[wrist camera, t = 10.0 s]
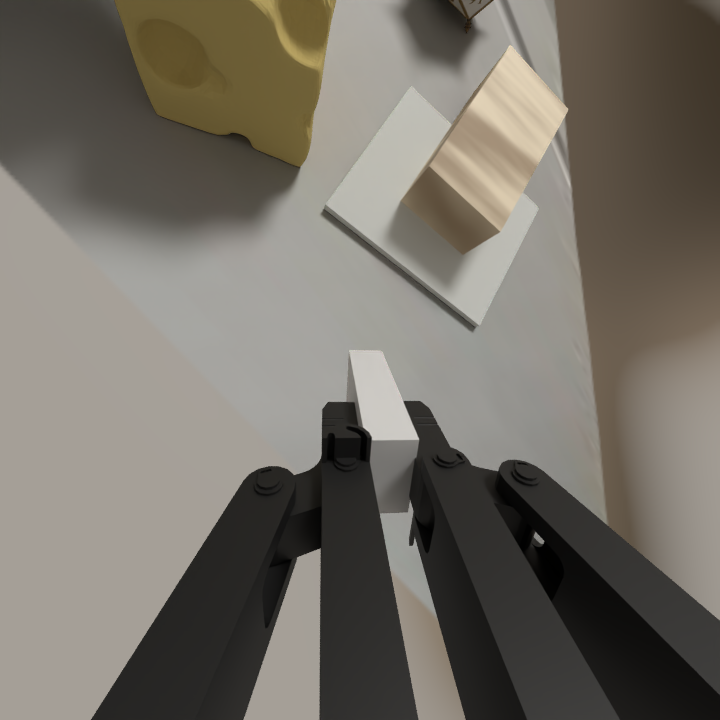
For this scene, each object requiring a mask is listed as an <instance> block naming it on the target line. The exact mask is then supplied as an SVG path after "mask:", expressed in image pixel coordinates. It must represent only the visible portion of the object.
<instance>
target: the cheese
mask: <svg viewBox="0 0 720 720" xmlns="http://www.w3.org/2000/svg"><path fill="white" fill-rule="evenodd" d="M114 1H115V4H116V7H117V10H118V13H119V15H120V18H121V21H122V23H123V26H124V30H125V33H126V36H127V40H128V43H129V46H130V49H131V52H132V55H133V58H134V61H135V64H136V67H137V70H138V73H139V75H140V77H141V80H142V83H143V85H144V88H145V90H146V93H147V95H148V97H149V99H150V101H151V104H152V106H153V108H154V110H155V112H156V114H158V115H159V116H161V117H164V118H167V119H170V120H173V121H176V122H179V123H182V124H185V125H188V126H191V127H194V128H197V129H200V130H203V131H206V132H209V133H213V134H216V135H228V134H229V133H238V134H241V135H243V136H245V137H247V138H248V139H249V140H250V142H251V145H252V147H253V148H255V149H256V150H259V151H261V152H263V153H266V154H268V155H271V156H273V157H276V158H279V159H281V160H283V161H285V162H287V163H290V164H292V165H295V166H298V167H301V165H302V164H303V163H304V161H305V159H306V157H307V155H308V152H309V148H310V144H311V136H312V126H313V116H314V111H315V108H316V105H317V102H318V99H319V94H320V89H321V82H322V75H323V67H324V60H325V54H326V48H327V42H328V36H329V31H330V25H331V20H332V16H333V12H334V8H335V3H336V0H114Z"/></svg>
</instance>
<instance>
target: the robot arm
mask: <svg viewBox="0 0 720 720" xmlns="http://www.w3.org/2000/svg"><path fill="white" fill-rule="evenodd" d="M410 501H411V504H412V507H413V511H414V512H413V518H412V524H411V530H410V536H409V546H413V543H414V537H415V539H416V542H417V546H418V549H419V553H420V557H421V560H422V564H423V567H424V571H425V575H426V578H427V582H428V585H429V589H430V592H431V596H432V600H433V603H434V607H435V610H436V614H437V618H438V621H439V625H440V628H441V632H442V635H443V639H444V643H445V646H446V650H447V654H448V657H449V661H450V664H451V668H452V671H453V675H454V679H455V682H456V686H457V689H458V693H459V697H460V700H461V704H462V708H463V711H464V715H465V718H466V720H720V620H718V619H717V618H716V617H715V616H714V615H712V614H711V613H710V612H709V611H707V610H706V609H705V608H704V607H703V606H702V605H701V604H699V603H698V602H697V601H696V600H695V599H694V598H692V597H691V596H690V595H689V594H688V593H686V592H685V591H684V590H683V589H682V588H681V587H679V586H678V585H677V584H676V583H675V582H673V581H672V580H671V579H670V578H669V577H668V576H666V575H665V574H664V573H663V572H662V571H660V570H659V569H658V568H657V567H656V566H655V565H653V564H652V563H651V562H650V561H649V560H648V559H646V558H645V557H644V556H643V555H642V554H640V553H639V552H638V551H637V550H636V549H635V548H633V547H632V546H631V545H630V544H629V543H627V542H626V541H625V540H624V539H623V538H622V537H620V536H619V535H618V534H617V533H616V532H614V531H613V530H612V529H611V528H610V527H609V526H607V525H606V524H605V523H604V522H603V521H601V520H600V519H599V518H598V517H597V516H596V515H594V514H593V513H592V512H591V511H590V510H588V509H587V508H586V507H585V506H584V505H583V504H581V503H580V502H579V501H578V500H577V499H576V498H574V497H573V496H572V495H571V494H570V493H568V492H567V491H566V490H565V489H564V488H563V487H561V486H560V485H559V484H558V483H557V482H555V481H554V480H553V479H552V478H551V477H550V476H548V475H547V474H546V473H545V472H544V471H542V470H541V469H539V468H538V467H536V466H535V465H532V464H530V463H527V462H525V461H520V460H507V461H505V462H503V463H502V464H501V466H500V467H499V471H493V470H488V469H484V468H479V467H476V466H472V465H471V463H470V462H469V460H468V459H467V458H466V456H465V455H464V454H463V453H461V452H459V451H458V450H456V449H454V448H451V447H450V446H449V444H448V442H447V440H446V438H445V436H444V435H443V433H442V431H441V429H440V427H439V425H437V422H436V420H435V418H434V416H433V414H432V412H431V410H430V409H429V408H428V407H427V406H426V405H425V404H423V403H422V402H421V401H403V400H402V398H401V395H400V393H399V391H398V388H397V386H396V383H395V381H394V379H393V376H392V374H391V372H390V369H389V367H388V364H387V362H386V360H385V357H384V355H383V353H382V351H370V350H349V361H348V382H347V402H328V403H327V404H326V405H325V407H324V408H323V409H322V456H321V459H320V461H319V463H318V464H317V465H316V466H315V467H314V468H312V469H310V470H309V471H306V472H303V473H300V474H297V475H293V474H292V473H291V472H290V471H289V470H288V469H285V468H282V467H278V466H268V467H265V468H261V469H258V470H256V471H254V472H252V473H251V474H249V475H248V476H247V478H246V479H245V480H244V481H243V482H242V484H241V485H240V487H239V489H238V490H237V492H236V493H235V495H234V496H233V498H232V500H231V501H230V503H229V504H228V506H227V507H226V509H225V511H224V512H223V514H222V515H221V517H220V519H219V520H218V522H217V523H216V525H215V526H214V528H213V529H212V531H211V533H210V534H209V536H208V537H207V539H206V540H205V542H204V543H203V545H202V547H201V548H200V550H199V551H198V553H197V555H196V556H195V558H194V559H193V561H192V562H191V564H190V566H189V567H188V569H187V570H186V572H185V573H184V575H183V576H182V578H181V580H180V581H179V583H178V584H177V586H176V588H175V589H174V591H173V592H172V594H171V595H170V597H169V598H168V600H167V601H166V603H165V605H164V606H163V608H162V609H161V611H160V613H159V614H158V616H157V617H156V619H155V620H154V622H153V623H152V625H151V627H150V628H149V630H148V631H147V633H146V635H145V636H144V638H143V639H142V641H141V642H140V644H139V645H138V647H137V649H136V650H135V652H134V653H133V655H132V657H131V658H130V659H129V661H128V663H127V664H126V666H125V667H124V669H123V670H122V672H121V674H120V675H119V677H118V678H117V680H116V682H115V683H114V685H113V686H112V688H111V689H110V691H109V692H108V694H107V696H106V697H105V699H104V700H103V702H102V703H101V705H100V707H99V708H98V710H97V711H96V713H95V714H94V716H93V717H92V719H91V720H243V719H244V716H245V713H246V710H247V707H248V704H249V701H250V698H251V695H252V692H253V689H254V686H255V683H256V680H257V677H258V674H259V671H260V668H261V665H262V662H263V659H264V656H265V653H266V650H267V647H268V644H269V641H270V638H271V635H272V632H273V629H274V626H275V623H276V620H277V617H278V614H279V611H280V608H281V605H282V602H283V599H284V596H285V593H286V590H287V587H288V584H289V581H290V578H291V575H292V572H293V569H294V566H295V563H296V560H297V557H299V556H301V555H304V554H307V553H309V552H312V551H314V550H317V549H320V548H321V586H320V588H321V589H320V599H321V600H320V720H418V715H417V710H416V705H415V699H414V694H413V689H412V684H411V678H410V673H409V668H408V662H407V657H406V651H405V646H404V641H403V636H402V631H401V625H400V620H399V614H398V609H397V604H396V598H395V594H394V588H393V582H392V577H391V572H390V566H389V561H388V556H387V550H386V545H385V540H384V535H383V529H382V524H381V519H380V513H399V512H408V508H409V502H410ZM535 531H536V532H537V534H538V535H539V536H540V537H541V538H542V539H543V540H544V541H545V542H544V544H540V543H539V542H538V541H537V540H536V539H535V538H534V534H535Z"/></svg>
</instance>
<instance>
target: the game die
mask: <svg viewBox="0 0 720 720" xmlns="http://www.w3.org/2000/svg"><path fill="white" fill-rule="evenodd" d="M448 1H449V2H450V3H451V4H452V5H453V6H454V7H455V8H456V9H457V10H458V11H459V12H460V13H461V14H462V15H463V16H464V17H465V18H466V19H467V22H466V24H465V25H466V26H465V29H466V33H467V32H468V30H469V29H470V28H471V27H470V25H471V19H472V18H473V17H474V16H475V15H477V14H478V13H479V12H480V11H481V10H483V9H484V8H485V7H486V6H487V5H489V4H490V3H491V2H492V1H493V0H448Z"/></svg>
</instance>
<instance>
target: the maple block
mask: <svg viewBox="0 0 720 720" xmlns="http://www.w3.org/2000/svg"><path fill="white" fill-rule="evenodd" d="M567 111H568V108H567V107H566V106H565V105H564V104H563V103H562V102H561V101H560V100H559V98H558V97H557V96H556V95H555V94H554V93H553V92H552V91H551V90H550V88H549V87H548V86H547V85H546V84H545V83H544V82H543V81H542V80H541V78H540V77H539V76H538V75H537V74H536V73H535V72H534V71H533V70H532V68H531V67H530V66H529V65H528V64H527V63H526V62H525V61H524V60H523V58H522V57H521V56H520V55H519V54H518V53H517V52H516V51H515V50H514V48H513V47H512V46H511V45H510V46H509V47H508V49H507V50H506V51H505V53H504V54H503V55H502V57H501V58H500V59H499V60H498V62H497V63H496V64H495V66H494V67H493V68H492V70H491V71H490V72H489V73H488V75H487V76H486V77H485V79H484V80H483V81H482V83H481V84H480V85H479V86H478V88H477V89H476V90H475V92H474V93H473V94H472V96H471V97H470V99H469V100H468V102H467V103H466V105H465V106H464V108H463V109H462V111H461V112H460V114H459V115H458V117H457V118H456V120H455V121H454V122H453V124H452V125H451V127H450V128H449V130H448V131H447V133H446V134H445V136H444V137H443V139H442V140H441V142H440V143H439V145H438V146H437V148H436V149H435V151H434V152H433V154H432V155H431V156H430V158H429V159H428V161H427V162H426V164H425V165H424V167H423V168H422V170H421V171H420V173H419V174H418V176H417V177H416V179H415V180H414V182H413V183H412V185H411V186H410V188H409V189H408V190H407V192H406V193H405V195H404V196H403V198H402V199H401V202H402V203H404V204H405V205H406V206H407V207H408V208H409V209H410V210H412V211H413V212H414V213H415V214H416V215H417V216H419V217H420V218H421V219H422V220H423V221H424V222H425V223H427V224H428V225H429V226H430V227H431V228H432V229H434V230H435V231H436V232H437V233H438V234H439V235H440V236H442V237H443V238H444V239H445V240H446V241H447V242H449V243H450V244H451V245H452V246H453V247H454V248H455V249H457V250H458V251H459V252H460V253H461V254H462V255H464V254H465V253H467V252H469V251H470V250H472V249H473V248H475V247H477V246H478V245H480V244H482V243H483V242H485V241H487V240H488V239H490V238H491V237H493V236H495V235H496V234H498V233H500V232H501V230H502V228H503V227H504V225H505V223H506V221H507V219H508V218H509V216H510V214H511V212H512V210H513V209H514V207H515V205H516V203H517V201H518V200H519V198H520V196H521V194H522V192H523V191H524V189H525V187H526V185H527V183H528V182H529V180H530V178H531V176H532V174H533V173H534V171H535V169H536V167H537V165H538V164H539V162H540V160H541V158H542V156H543V155H544V153H545V151H546V149H547V147H548V146H549V144H550V142H551V140H552V138H553V137H554V135H555V133H556V131H557V129H558V128H559V126H560V124H561V122H562V120H563V119H564V117H565V115H566V113H567Z"/></svg>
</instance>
